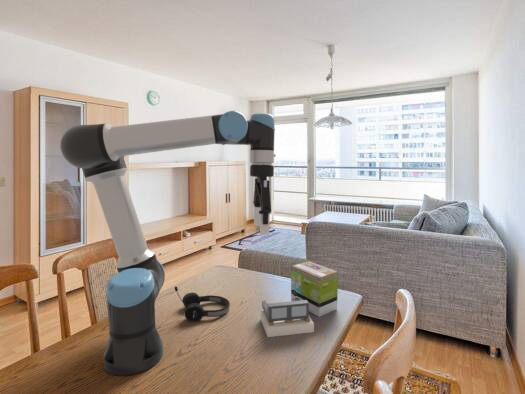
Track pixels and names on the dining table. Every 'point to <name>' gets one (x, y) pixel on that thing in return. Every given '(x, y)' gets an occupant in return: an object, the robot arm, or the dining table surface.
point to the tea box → (315, 287)
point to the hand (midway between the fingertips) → (261, 229)
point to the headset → (196, 310)
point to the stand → (287, 326)
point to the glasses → (286, 310)
